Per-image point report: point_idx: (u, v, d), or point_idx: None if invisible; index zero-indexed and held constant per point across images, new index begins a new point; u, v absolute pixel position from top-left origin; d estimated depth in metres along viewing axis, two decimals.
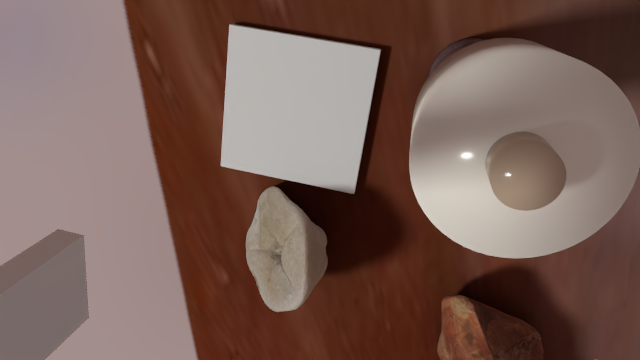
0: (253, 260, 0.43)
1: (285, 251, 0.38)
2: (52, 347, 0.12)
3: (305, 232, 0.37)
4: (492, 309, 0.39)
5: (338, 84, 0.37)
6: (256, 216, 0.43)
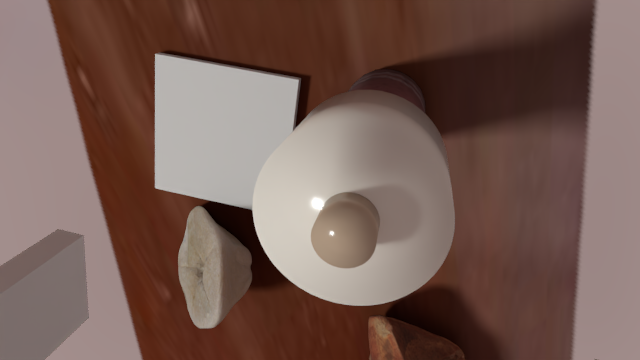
0: (183, 276, 0.44)
1: (205, 271, 0.39)
2: (52, 347, 0.12)
3: (221, 253, 0.38)
4: (414, 329, 0.40)
5: (261, 111, 0.38)
6: (186, 234, 0.44)
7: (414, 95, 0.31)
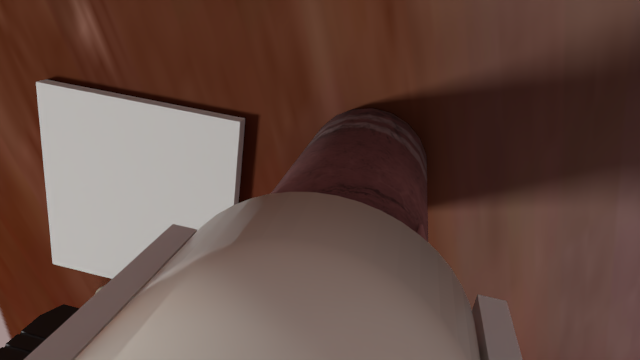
0: None
1: None
2: None
3: None
4: None
5: (189, 165, 0.26)
6: None
7: (410, 158, 0.19)
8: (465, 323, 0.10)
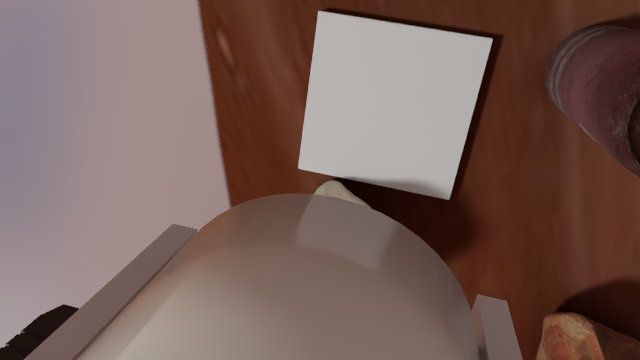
0: None
1: None
2: None
3: None
4: (607, 328, 0.35)
5: (440, 77, 0.33)
6: None
7: None
8: (464, 325, 0.10)
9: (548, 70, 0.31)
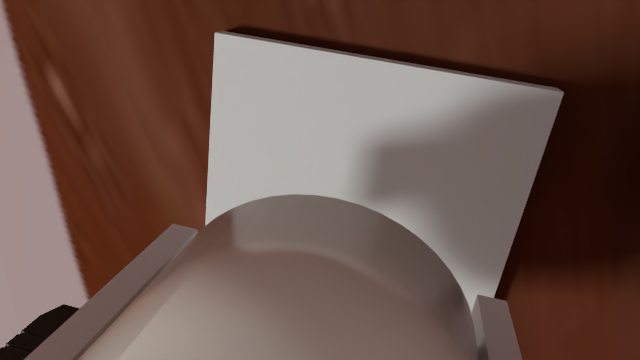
0: None
1: None
2: None
3: None
4: None
5: (455, 163, 0.17)
6: None
7: None
8: (464, 326, 0.10)
9: None
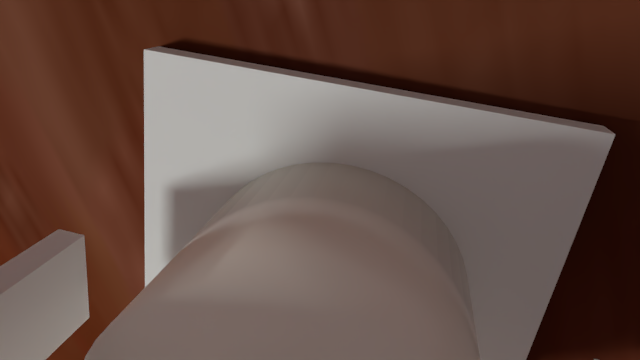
0: None
1: None
2: (53, 347, 0.12)
3: None
4: None
5: (463, 224, 0.13)
6: None
7: None
8: (458, 267, 0.12)
9: None
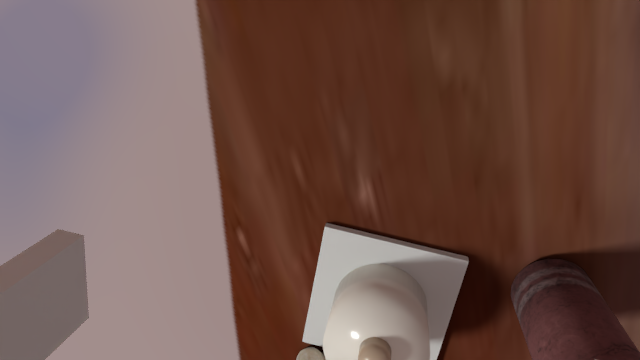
0: None
1: None
2: (52, 347, 0.12)
3: None
4: None
5: (425, 285, 0.40)
6: None
7: (608, 306, 0.33)
8: (423, 299, 0.39)
9: (513, 291, 0.38)
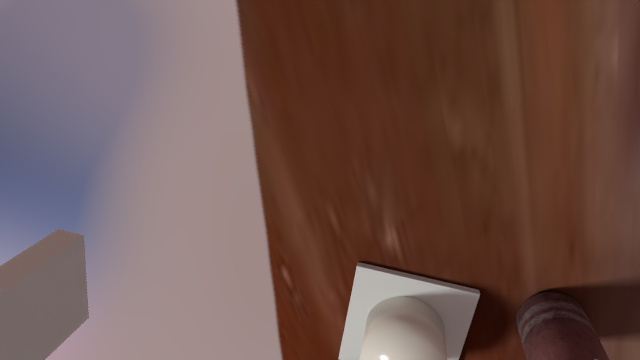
0: None
1: None
2: (52, 347, 0.12)
3: None
4: None
5: (443, 313, 0.47)
6: None
7: (596, 336, 0.40)
8: (442, 327, 0.46)
9: (518, 319, 0.45)
